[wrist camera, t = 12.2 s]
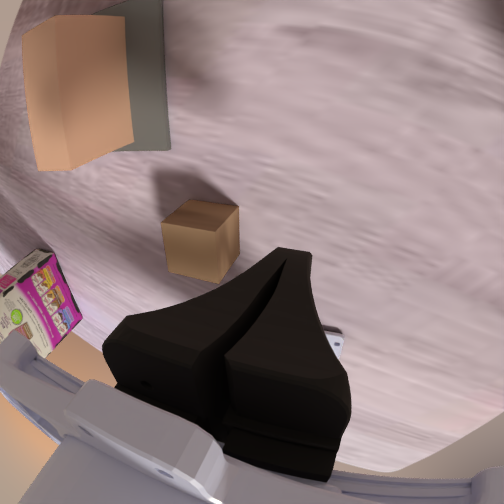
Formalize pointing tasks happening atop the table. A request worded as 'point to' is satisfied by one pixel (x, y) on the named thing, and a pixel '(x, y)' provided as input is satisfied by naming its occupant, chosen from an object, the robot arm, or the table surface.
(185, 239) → the brown cube
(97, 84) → the block
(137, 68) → the mat
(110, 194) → the table surface
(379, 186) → the table surface
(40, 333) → the candy bar box
